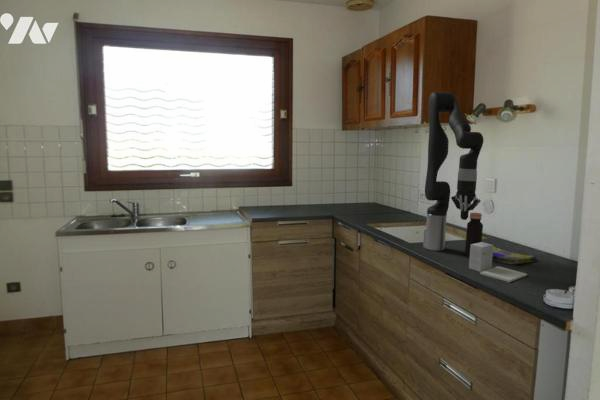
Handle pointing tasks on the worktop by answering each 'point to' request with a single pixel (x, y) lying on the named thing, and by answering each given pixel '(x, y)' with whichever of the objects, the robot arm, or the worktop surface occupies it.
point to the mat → (503, 274)
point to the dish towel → (511, 257)
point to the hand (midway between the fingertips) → (464, 219)
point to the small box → (481, 256)
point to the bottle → (473, 231)
